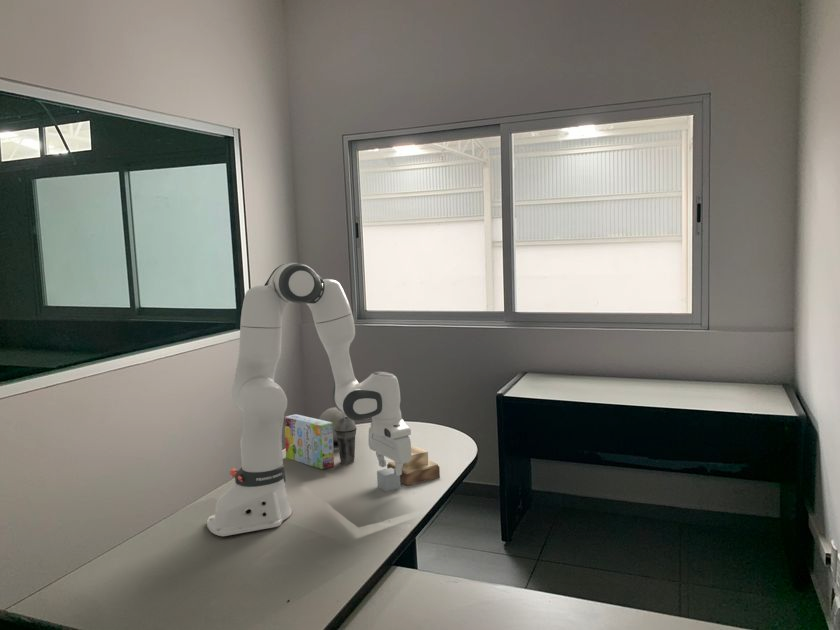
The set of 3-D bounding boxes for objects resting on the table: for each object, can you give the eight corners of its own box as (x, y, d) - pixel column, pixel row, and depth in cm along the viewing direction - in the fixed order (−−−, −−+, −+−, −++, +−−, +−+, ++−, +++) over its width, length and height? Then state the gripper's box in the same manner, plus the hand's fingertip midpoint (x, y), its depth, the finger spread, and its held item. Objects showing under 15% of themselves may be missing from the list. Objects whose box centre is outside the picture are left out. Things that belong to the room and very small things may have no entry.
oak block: (409, 468, 191) (408, 456, 191) (397, 462, 197) (397, 450, 197) (428, 464, 195) (427, 451, 195) (416, 458, 201) (416, 446, 200)
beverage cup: (362, 461, 213) (359, 403, 211) (349, 467, 207) (346, 408, 205) (345, 458, 217) (343, 401, 215) (332, 464, 211) (329, 406, 209)
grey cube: (385, 492, 184) (384, 475, 183) (377, 487, 188) (376, 471, 188) (400, 488, 186) (399, 472, 186) (392, 483, 191) (391, 467, 190)
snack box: (335, 466, 209) (333, 421, 208) (322, 470, 205) (320, 425, 204) (298, 454, 224) (295, 412, 222) (284, 458, 219) (282, 416, 218)
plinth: (406, 485, 188) (406, 472, 188) (387, 474, 198) (386, 462, 198) (439, 477, 194) (439, 464, 194) (419, 467, 205) (419, 455, 204)
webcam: (361, 445, 231) (359, 405, 230) (339, 455, 220) (337, 413, 219) (333, 441, 238) (331, 402, 237) (311, 450, 227) (309, 410, 226)
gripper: (362, 420, 193) (364, 463, 194) (394, 434, 176) (397, 482, 177) (380, 416, 196) (382, 459, 198) (413, 430, 179) (416, 477, 180)
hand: (390, 470), depth 187 cm, fingers open, 8 cm apart
